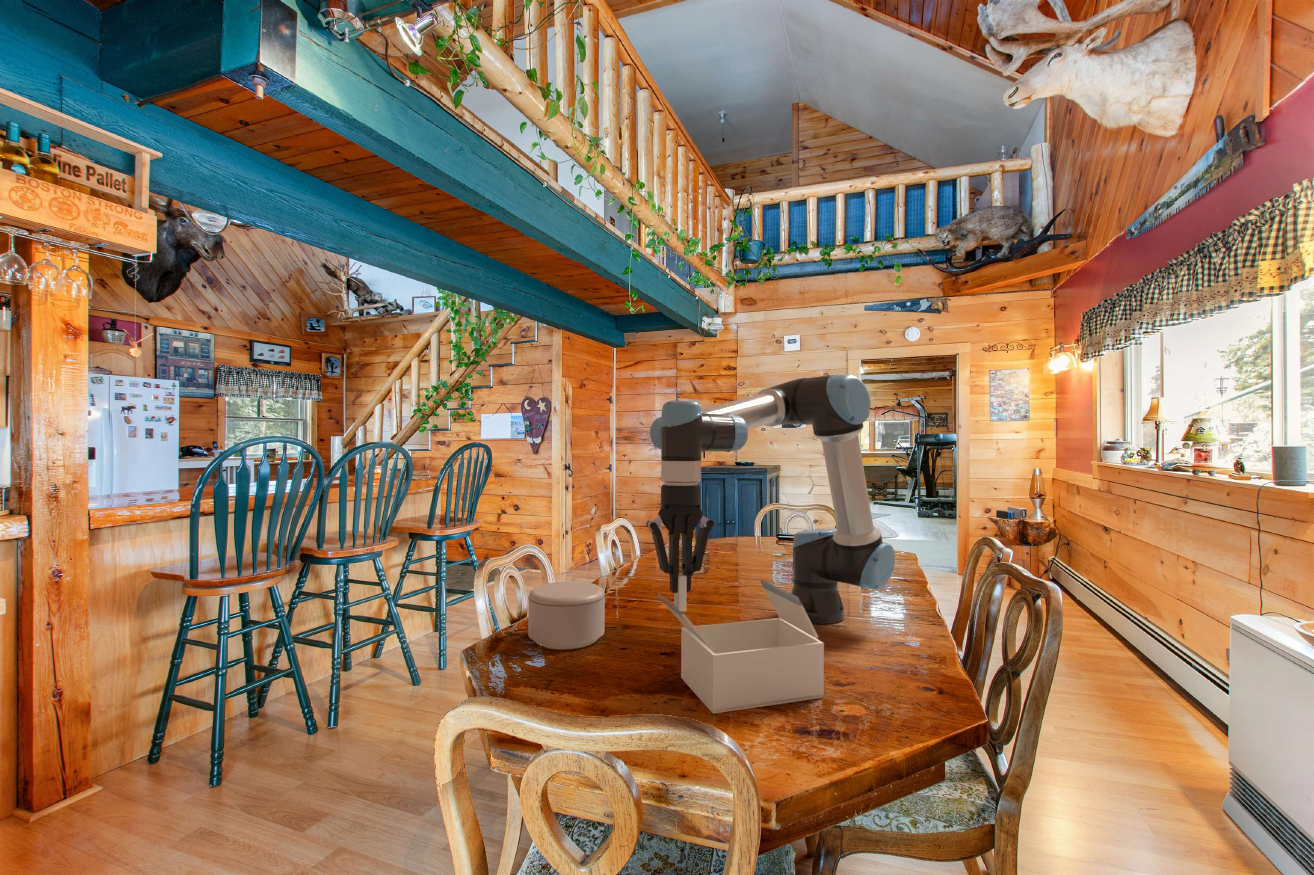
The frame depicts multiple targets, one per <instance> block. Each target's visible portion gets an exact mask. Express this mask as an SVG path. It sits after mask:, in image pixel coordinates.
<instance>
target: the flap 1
mask: <svg viewBox="0 0 1314 875" xmlns="http://www.w3.org/2000/svg"><path fill="white" fill-rule="evenodd" d="M656 597H657V598H659V599H660V601H661V602H662V603H663V604H664V605H665V606H666V608H668V610H669V611H670V612H671V613H672V614H673V615H674V616H675V618H677V620H678V621H679V622H680V623H681V625H683V627H686V628H687V629H688V630H689V631H691V632H692V633H693V634H694V635H695V636H696V637H698V638H699V639H700V640H701V641H702V642H703V643H704V644H706V645H707V646H708V647H709V648H710V649H711V650H713V649H714V647H713V646H712V645H711V644H710V643H709V642H708V641H707V639H706V638H705V637H704V636H703V635H702V634H701V633H700V632H699V631H698V629H697V628H696V627H695V626H696V625H694V624H693V623H692V621H690V619H689V618H688V617H687V616H686V615H685V613H683V612H681V611H680V610H678V609H677V608H676V607H675V606H674V604H673V603H671V602H670V601H668V600H667V599H666V598H665V597H663V596H662V595H661V594H660V593H657V594H656Z"/></svg>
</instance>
